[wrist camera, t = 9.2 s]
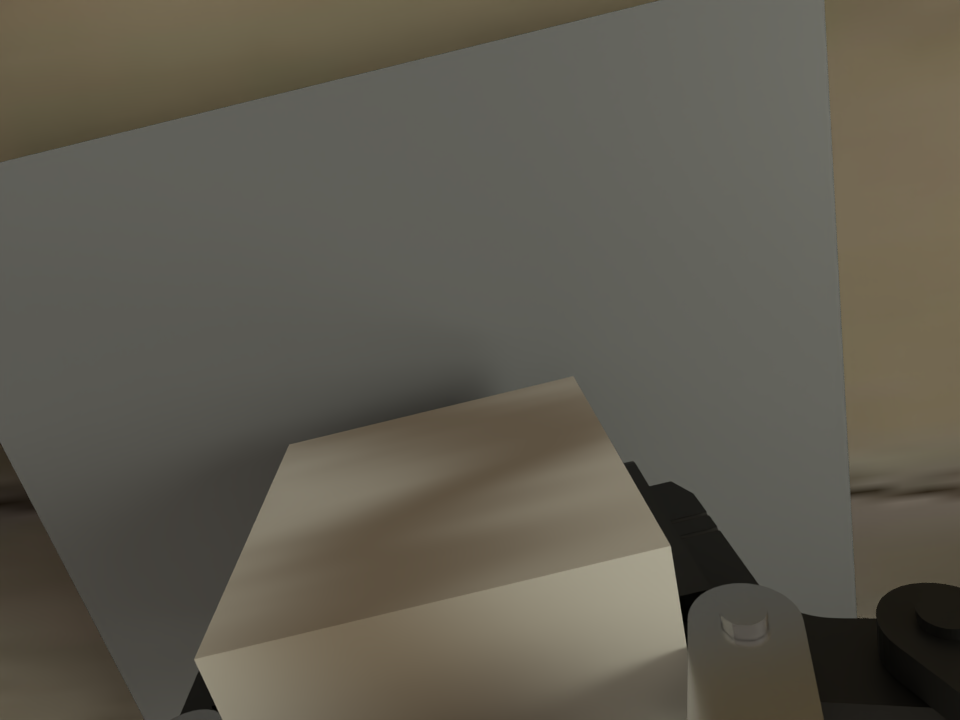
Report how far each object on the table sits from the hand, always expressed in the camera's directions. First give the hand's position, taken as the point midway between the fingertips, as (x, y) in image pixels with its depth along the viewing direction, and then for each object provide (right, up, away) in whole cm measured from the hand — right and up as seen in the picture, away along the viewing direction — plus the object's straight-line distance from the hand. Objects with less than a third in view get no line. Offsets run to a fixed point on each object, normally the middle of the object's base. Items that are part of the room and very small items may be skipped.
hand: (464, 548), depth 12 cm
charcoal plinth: (0, +2, +6) cm, 6 cm away
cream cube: (0, 0, 0) cm, 0 cm away
